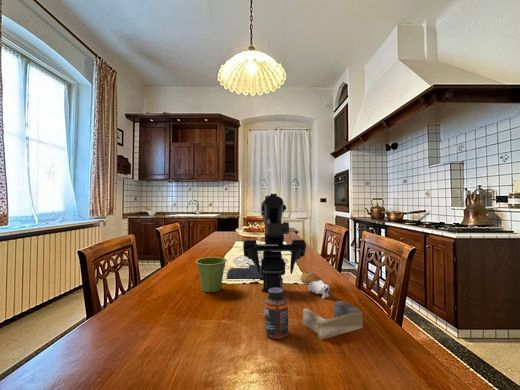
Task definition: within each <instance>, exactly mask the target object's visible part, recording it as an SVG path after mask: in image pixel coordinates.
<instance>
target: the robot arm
mask: <svg viewBox="0 0 520 390" xmlns="http://www.w3.org/2000/svg"><path fill="white" fill-rule="evenodd" d="M260 205H261V206H260V207H261V208H260V210H261V211H260V213H261V216H262V221H263V222H264V243H258V242H257V239H245V240H243V243H242V244H243V245H242V247H243V248H242V249H243V257H244V258H247V259H249V260H251V262H252V263H253V265H255V267H256V269H257V272H258V274H260V266H261V275H263V280H262V282H263V285H262V286H263V288H262V289H261V292H266V293H268V290H269V289H270V288H282V289H283V290H284V287H283V286H284V281H283V276H284V275H286V262H285V260H284V258H283V255H282V252H291V254H290V266H289V267H290V268H289V269H290V270H289V271H290V274H291V275H292V274H293V273H294V268H295V264H296V262H297V260H300V259H301V258H303V257H305V255H306V251H307V250H306V249H307V242H306V241H305V240H304V239H292V240H291V244H290V243H287V244H285V243H284V242H285V235H289V233H290V223H289V222H285V221H284V222H283V221H282V219H283V213H285V211H286V210H287V206H286V205H285V203H284V200H283V198H282V197H281V196H278V195H277V193H270V195H266V196H265V197H264V200H263V201H262V202H261V204H260ZM259 252H262V258H261V259H260V260H261V261H260V260H259ZM260 262H261V263H260Z"/></svg>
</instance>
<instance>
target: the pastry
mask: <svg viewBox="0 0 520 390" xmlns="http://www.w3.org/2000/svg"><path fill="white" fill-rule="evenodd" d="M319 280H321V281H323V280H322V279H321V277H320V276H319V275H317V274H316V273H314V272H309V271H304V272H302V274H301V275H300V281H301V282H302V283H304V284H306V283H307V285H309V284H310V282H312V281H319Z"/></svg>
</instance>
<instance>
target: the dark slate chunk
mask: <svg viewBox="0 0 520 390" xmlns="http://www.w3.org/2000/svg"><path fill="white" fill-rule="evenodd" d="M226 277H227V278H226V280H227V279H260V280H259V281H263V275H261V265H260V274H258V272H257V269H256V267H255V264H250V265H249V266H248V267H236V268H235V267H231V268H229V269H228V270H227V273H226Z"/></svg>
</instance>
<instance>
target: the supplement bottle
mask: <svg viewBox="0 0 520 390" xmlns="http://www.w3.org/2000/svg"><path fill="white" fill-rule="evenodd" d="M284 291H285V290H284V288H283V289H282V288H270V289H269V290H268V292H267V293H268V294H267V295H268V296H267V297H266V298H265V299H264V333H265V335H266V337H268V338H270V339H274V340H282V339H285V338H286V337H288V336H289V335H288V334H289V302H288V301H289V300H288V299H287V298H286V297H285V292H284Z"/></svg>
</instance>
